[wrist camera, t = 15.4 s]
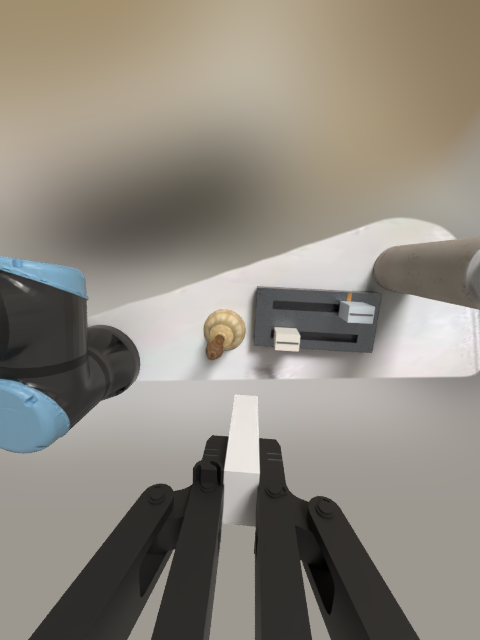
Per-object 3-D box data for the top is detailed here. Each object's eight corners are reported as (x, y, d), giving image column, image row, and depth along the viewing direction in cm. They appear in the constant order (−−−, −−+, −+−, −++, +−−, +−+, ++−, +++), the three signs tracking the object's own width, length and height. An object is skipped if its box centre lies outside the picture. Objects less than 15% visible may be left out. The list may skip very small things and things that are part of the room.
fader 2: (336, 314, 50) (347, 322, 44) (337, 299, 49) (349, 305, 43) (358, 316, 50) (372, 324, 43) (360, 301, 49) (375, 306, 43)
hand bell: (200, 313, 53) (176, 335, 37) (241, 305, 52) (234, 324, 37) (209, 352, 55) (189, 389, 39) (249, 346, 54) (245, 380, 38)
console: (254, 341, 53) (254, 345, 51) (257, 286, 51) (257, 287, 49) (366, 348, 52) (372, 353, 50) (375, 292, 50) (381, 294, 47)
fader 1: (272, 339, 52) (275, 350, 45) (273, 325, 51) (276, 334, 45) (293, 340, 52) (298, 351, 45) (295, 326, 51) (300, 335, 45)
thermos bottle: (403, 236, 48) (599, 202, 20) (427, 271, 49) (646, 284, 21) (364, 265, 49) (499, 271, 22) (389, 299, 50) (547, 344, 23)
